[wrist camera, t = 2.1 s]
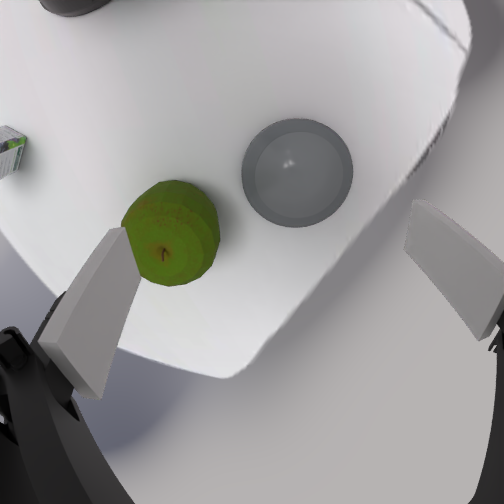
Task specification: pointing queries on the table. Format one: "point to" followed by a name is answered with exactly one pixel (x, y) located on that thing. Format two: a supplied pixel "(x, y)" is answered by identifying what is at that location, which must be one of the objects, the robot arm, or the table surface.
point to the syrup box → (10, 150)
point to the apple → (172, 233)
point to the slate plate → (297, 172)
